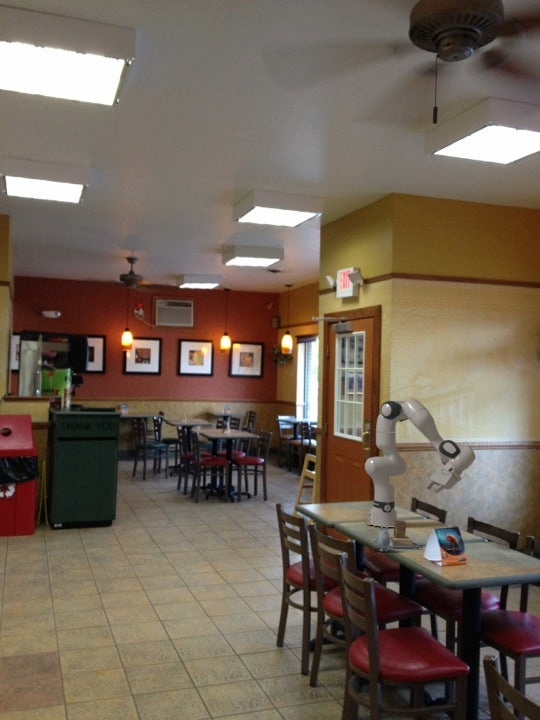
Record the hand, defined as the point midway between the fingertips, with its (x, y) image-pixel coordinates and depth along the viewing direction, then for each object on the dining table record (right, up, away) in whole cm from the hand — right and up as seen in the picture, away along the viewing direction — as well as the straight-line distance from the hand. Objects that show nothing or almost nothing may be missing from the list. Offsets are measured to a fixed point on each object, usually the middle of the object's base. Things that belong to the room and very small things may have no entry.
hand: (431, 490), depth 338 cm
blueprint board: (-18, -26, -8) cm, 32 cm away
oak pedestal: (-18, -26, -9) cm, 33 cm away
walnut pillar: (-18, -22, -9) cm, 30 cm away
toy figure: (-28, -25, -22) cm, 44 cm away
